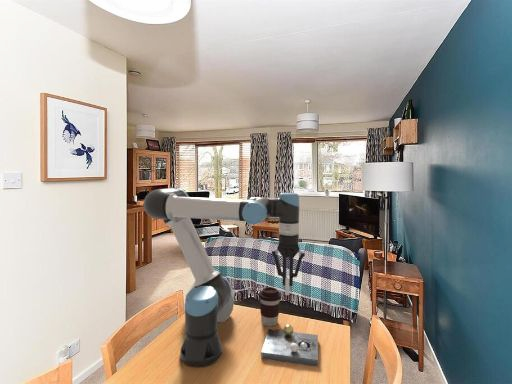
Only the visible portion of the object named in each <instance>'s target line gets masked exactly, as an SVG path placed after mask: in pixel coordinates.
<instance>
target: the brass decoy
mask: <svg viewBox="0 0 512 384" xmlns="http://www.w3.org/2000/svg"><path fill="white" fill-rule="evenodd" d="M282 331H284V333H285V334H286V335H288V336H290V335H292V334H293V332H294V327H293V326H292V325H291V324H285V325H284V326H283V329H282Z"/></svg>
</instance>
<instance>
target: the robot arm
mask: <svg viewBox="0 0 512 384" xmlns="http://www.w3.org/2000/svg"><path fill="white" fill-rule="evenodd" d="M143 209H144V212H145V213H146V214H147V216H149V217H150V218H152V219H155V220H163V223H164V225H165V226H168V227H170V228H171V231H172V233H173V235H174V237H175V240H176V241H177V243H178V246H179V247H180V251H181V252H182V254H183V257H184V259H185V261H186V263H187V264H188V267H189V269H190V272H191V274H192V276H193V279H194V282H195V283H194V282H193V284H194V287H195V288H194V289H192V290H190V289H189V290H188V292H187V293H186V295H185V300H184V301H185V302H184V325H185V326H184V331H185V332H184V333H185V334H184V337H183V341H182V344H181V347H180V349H179V350H180V352H179V353H180V354H179V355H180V360H181V361H182V363H183V364H184V365H186V366H189V367H195V368H200V367H207V366H211V365H212V364H215V363H216V362H218V361H219V359H221V357H222V355H223V345H222V341H221V338H220V336H219V332H218V322H217V319H218V315H219V313H220V312H221V310H222V309H223V308H224V306H225V305H226V304H227V303H228V301H229V299H230V297H231V292H232V290H231V287H232V285H231V283H230V281H229V280H228V279H227V278H225V277H223V276H222V274H221V272H220V271H219V270H216V269H215V268H214V266H213V263H212V261H211V260H210V257H209V255H208V253H207V251H206V249H205V247H204V244H203V243H202V241H201V238H200V237H199V234H198V232H197V229H196V228H195V226H194V224H193V221H192V219H201V220H202V219H203V220H217V221H231V222H245V223H247V224H250V225H259V224H260V223H262V222H263V221H265V219H266V218H278V232H279V233H278V245H277V247H276V248H275V249H272V250H271V255H272V257H273V259H274V262H275V263H274V264H275V267H276V268H275V269H276V272H277V275H278V277H279V276H280V277H281V278H282V286H284V288H285V289H284V291H285V293H284V295H285V296H290V293H291V292H290V291H291V287H293V285H294V282H293V281H294V278H297V277H298V275H299V271H300V267H301V263H302V261H303V259H304V257H305V255H306V252H305V251H303V250H301V249H300V246H299V237H300V236H299V231H300V229H299V228H300V195H299V194H298V193H296V192H281V193H279V197H262V196H256V197H255V196H254V197H251V196H250V198H249V199H233V198H232V199H229V198H216V197H215V198H213V197H210V198H209V197H197V196H196V197H193V196H192V197H191V196H189V194H188V193H187V192H186V191H185V190H184V189H182V188H178V187H168V188H166V187H165V188H159V189H158V188H157V189H154V190H151V191H149V192H148V193H147V194H146V196H145V198H144V200H143ZM279 254H280V255H281V257H282V267H281V263H280V258H279ZM297 254H298V260H297V262H296V267H295V270H294V258H295V257H296V256H297ZM287 259H289V273H288V274H289V275H287V264H288V263H287Z"/></svg>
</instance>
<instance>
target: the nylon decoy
mask: <svg viewBox="0 0 512 384" xmlns="http://www.w3.org/2000/svg"><path fill="white" fill-rule="evenodd" d="M290 350H291V351H292V352H297V350H298V345H297V344H296V343H292V344H291V345H290Z"/></svg>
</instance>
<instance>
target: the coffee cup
mask: <svg viewBox="0 0 512 384" xmlns="http://www.w3.org/2000/svg"><path fill="white" fill-rule="evenodd" d="M258 298H259V299H260V300H259V308H260V311H259V312H260V317H261V318H260V321H261V324H262V325H264V326H266V327H274V326H277V324H278V323H279V315H280V305H281V298H282V292H281V291H279V290H278V288H276V287H273V286H268V287H263V288H262V290H259V291H258Z"/></svg>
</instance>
